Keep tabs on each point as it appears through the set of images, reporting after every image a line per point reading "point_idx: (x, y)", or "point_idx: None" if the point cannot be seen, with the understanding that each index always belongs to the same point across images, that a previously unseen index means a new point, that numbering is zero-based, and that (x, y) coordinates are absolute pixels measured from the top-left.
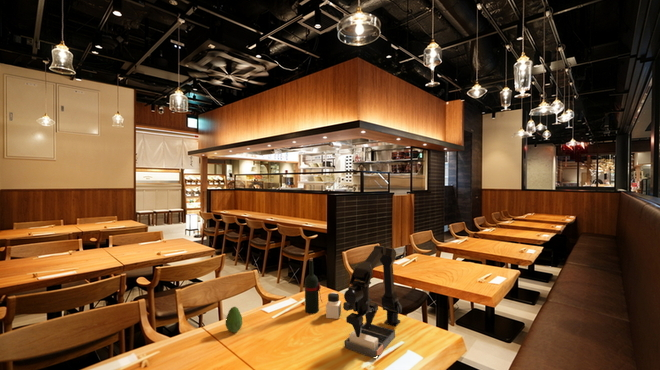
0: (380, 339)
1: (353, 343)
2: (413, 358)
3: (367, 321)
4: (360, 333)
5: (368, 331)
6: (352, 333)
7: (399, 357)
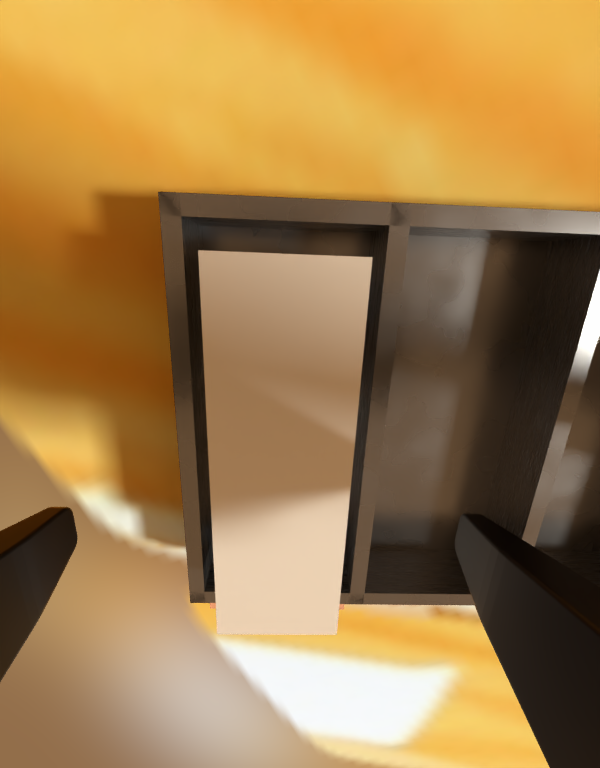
0: (495, 493)
1: (181, 346)
2: (360, 713)
3: (551, 640)
4: (19, 641)
5: (566, 376)
6: (267, 283)
7: (325, 655)
